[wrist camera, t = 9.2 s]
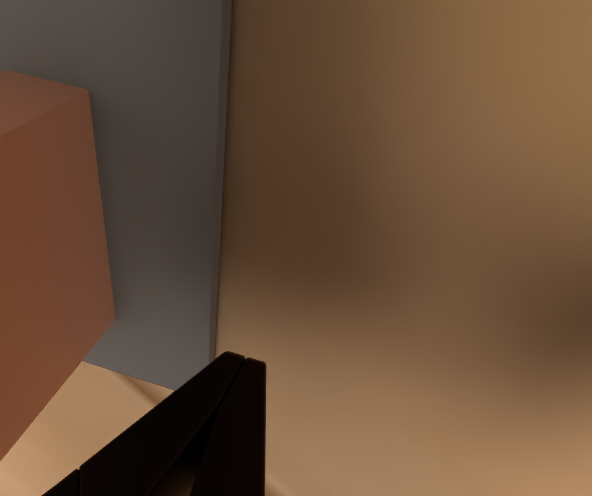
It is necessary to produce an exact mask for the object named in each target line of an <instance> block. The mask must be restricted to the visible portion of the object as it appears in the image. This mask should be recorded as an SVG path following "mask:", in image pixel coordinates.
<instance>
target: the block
mask: <svg viewBox="0 0 592 496" xmlns="http://www.w3.org/2000/svg"><path fill="white" fill-rule="evenodd" d="M115 320H116V317H115V309H114V300H113V292H112V283H111V275H110V267H109V258H108V250H107V242H106V233H105V225H104V216H103V208H102V200H101V191H100V183H99V175H98V166H97V158H96V149H95V141H94V133H93V124H92V116H91V108H90V99H89V91H88V89H84V88H80V87H76V86H72V85H67V84H63V83H59V82H55V81H51V80H46V79H42V78H38V77H34V76H29V75H25V74H21V73H17V72H12V71H8V70H6V71H3V72H1V73H0V461H1V460H2V459H3V457H4V456H5V455H6V454H7V453H8V451H9V450H10V449H11V448H12V446H13V445H14V444H15V443H16V441H17V440H18V439H19V438H20V437H21V435H22V434H23V433H24V432H25V430H26V429H27V428H28V427H29V425H30V424H31V423H32V422H33V421H34V419H35V418H36V417H37V416H38V414H39V413H40V412H41V411H42V409H43V408H44V407H45V406H46V405H47V403H48V402H49V401H50V400H51V398H52V397H53V396H54V395H55V393H56V392H57V391H58V390H59V389H60V387H61V386H62V385H63V384H64V382H65V381H66V380H67V379H68V377H69V376H70V375H71V374H72V373H73V371H74V370H75V369H76V368H77V366H78V365H79V364H80V363H81V361H82V360H83V359H84V358H85V357H86V355H87V354H88V353H89V352H90V350H91V349H92V348H93V347H94V345H95V344H96V343H97V342H98V341H99V339H100V338H101V337H102V336H103V334H104V333H105V332H106V331H107V329H108V328H109V327H110V326H111V325H112V323H113V322H114V321H115Z"/></svg>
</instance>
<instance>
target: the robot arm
mask: <svg viewBox="0 0 592 496" xmlns="http://www.w3.org/2000/svg"><path fill="white" fill-rule="evenodd" d="M265 446H266V363H265V362H263V361H259V360H256V359H253V358H246V359H245V357H244V356H243V355H240V354H236V353H233V352H230V351H227V352H224V353H222V354H221V355H220V356H219V357H217V358H216V359H215V360H213V361H212V362H211V363H210V364H208V365H207V366H206V367H205V368H203V369H202V370H201V371H200V372H198V373H197V374H196V375H195V376H193V377H192V378H191V379H189V380H188V381H187V382H186V383H184V384H183V385H182V386H181V387H179V388H178V389H177V390H176V391H174V392H173V393H172V394H171V395H169V396H168V397H167V398H165V399H164V400H163V401H162V402H160V403H159V404H158V405H157V406H155V407H154V408H153V409H152V410H150V411H149V412H148V413H146V414H145V415H144V416H143V417H141V418H140V419H139V420H138V421H136V422H135V423H134V424H133V425H131V426H130V427H129V428H128V429H126V430H125V431H124V432H122V433H121V434H120V435H119V436H117V437H116V438H115V439H114V440H112V441H111V442H110V443H109V444H107V445H106V446H105V447H103V448H102V449H101V450H100V451H98V452H97V453H96V454H95V455H93V456H92V457H91V458H90V459H88V460H87V461H86V462H85V463H83V464H82V465H81V466H80V468H79V470H78V469H76V470H74V471H73V472H72V473H70V474H69V475H68V476H67V477H65V478H64V479H63V480H62V481H60V482H59V483H58V484H56V485H55V486H54V487H53V488H51V489H50V490H49V491H47V492H46V493H45V494H43V495H42V496H265Z"/></svg>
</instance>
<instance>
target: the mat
mask: <svg viewBox="0 0 592 496" xmlns="http://www.w3.org/2000/svg"><path fill="white" fill-rule="evenodd" d="M231 11H232V0H0V73H1V72H3V71H6V70H8V71H12V72H17V73H21V74H25V75H29V76H34V77H38V78H42V79H46V80H51V81H55V82H59V83H63V84H67V85H72V86H76V87H80V88H84V89H88V91H89V99H90V108H91V116H92V124H93V133H94V141H95V149H96V158H97V166H98V175H99V183H100V191H101V200H102V208H103V216H104V225H105V233H106V242H107V250H108V258H109V267H110V275H111V283H112V292H113V300H114V309H115V317H116V320H115V321H114V322H113V323H112V325H111V326H110V327H109V328H108V329H107V331H106V332H105V333H104V334H103V336H102V337H101V338H100V339H99V341H98V342H97V343H96V344H95V345H94V347H93V348H92V349H91V350H90V352H89V353H88V354H87V355H86V357H85V358H84V359H83V360H82V361H84V362H87V363H90V364H93V365H97V366H100V367H103V368H106V369H109V370H112V371H115V372H119V373H122V374H125V375H128V376H131V377H134V378H138V379H141V380H144V381H147V382H150V383H153V384H156V385H160V386H163V387H166V388H169V389H172V390H175V391H176V390H177V389H178V388H179V387H181V386H182V385H183V384H184V383H186V382H187V381H188V380H189V379H191V378H192V377H193V376H195V375H196V374H197V373H198V372H200V371H201V370H202V369H203V368H205V367H206V366H207V365H208V364H210V363H211V362H212V361H213V360H215V342H216V321H217V301H218V280H219V259H220V239H221V218H222V197H223V176H224V156H225V135H226V114H227V94H228V73H229V52H230V31H231Z"/></svg>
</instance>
